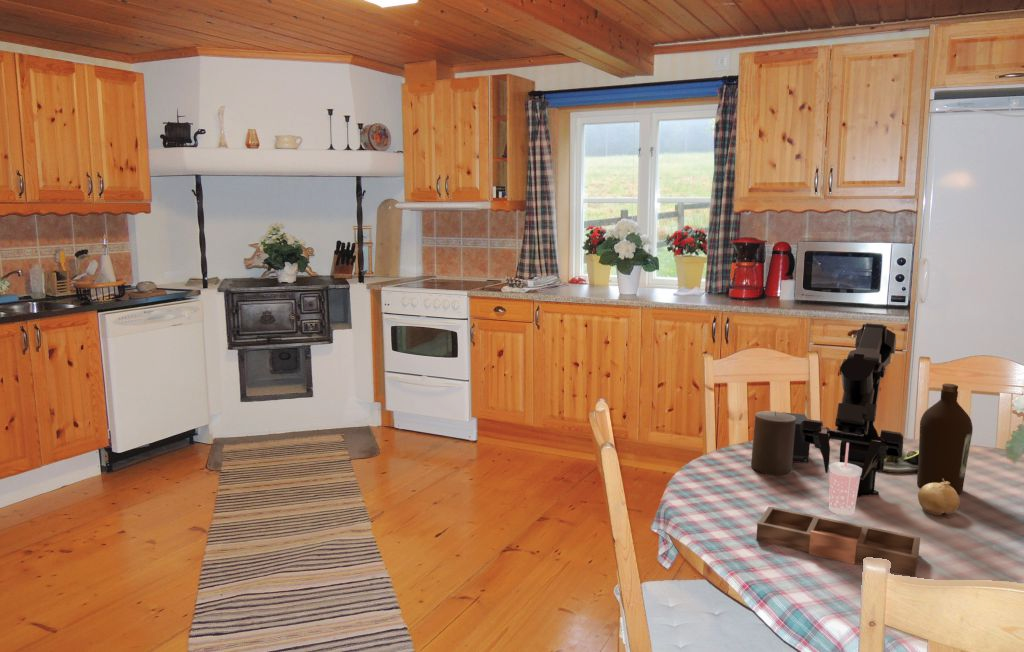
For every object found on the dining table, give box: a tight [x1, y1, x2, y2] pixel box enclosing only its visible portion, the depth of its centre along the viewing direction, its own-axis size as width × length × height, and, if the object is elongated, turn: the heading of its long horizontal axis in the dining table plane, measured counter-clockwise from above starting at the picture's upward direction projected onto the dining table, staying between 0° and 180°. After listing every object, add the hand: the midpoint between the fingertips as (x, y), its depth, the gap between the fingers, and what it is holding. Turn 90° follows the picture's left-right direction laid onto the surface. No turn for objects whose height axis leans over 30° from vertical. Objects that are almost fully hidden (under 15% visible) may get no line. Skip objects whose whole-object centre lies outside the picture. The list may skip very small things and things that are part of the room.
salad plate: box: [881, 448, 919, 473], centre depth 196 cm, size 19×18×5 cm
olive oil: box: [916, 383, 973, 496], centre depth 177 cm, size 11×11×25 cm
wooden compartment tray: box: [755, 506, 921, 577], centre depth 148 cm, size 28×11×4 cm, turn 59°
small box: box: [781, 411, 811, 464], centre depth 200 cm, size 11×6×10 cm, turn 168°
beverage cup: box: [828, 443, 862, 516], centre depth 150 cm, size 6×6×14 cm
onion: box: [917, 478, 961, 516], centre depth 165 cm, size 8×8×7 cm
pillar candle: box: [750, 410, 796, 476], centre depth 190 cm, size 10×10×15 cm
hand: (844, 475), depth 149 cm, fingers closed on beverage cup, 6 cm apart
